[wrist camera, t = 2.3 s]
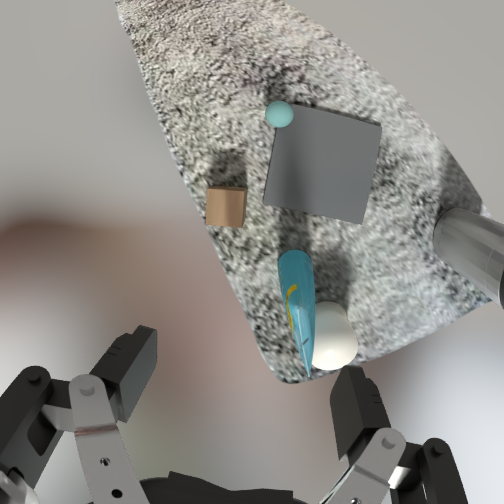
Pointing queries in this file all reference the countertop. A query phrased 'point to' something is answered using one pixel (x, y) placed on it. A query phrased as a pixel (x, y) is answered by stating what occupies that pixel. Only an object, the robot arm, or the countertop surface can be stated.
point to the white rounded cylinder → (333, 337)
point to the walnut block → (226, 206)
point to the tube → (299, 300)
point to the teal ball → (279, 114)
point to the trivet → (323, 164)
